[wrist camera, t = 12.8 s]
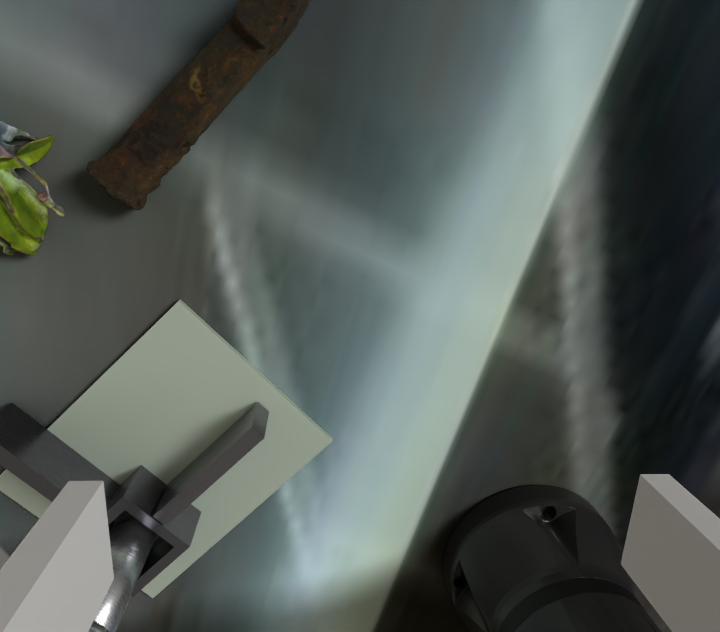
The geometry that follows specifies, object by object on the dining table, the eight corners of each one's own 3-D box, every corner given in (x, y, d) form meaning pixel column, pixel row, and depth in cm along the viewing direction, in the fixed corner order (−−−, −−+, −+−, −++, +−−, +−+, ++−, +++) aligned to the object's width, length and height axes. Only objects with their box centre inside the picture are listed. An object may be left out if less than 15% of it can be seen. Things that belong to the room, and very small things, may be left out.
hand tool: (146, 211, 36) (122, 218, 32) (100, 166, 35) (69, 166, 31) (349, 13, 34) (355, -10, 29) (307, -42, 33) (306, -74, 28)
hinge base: (201, 512, 42) (190, 546, 38) (149, 558, 43) (133, 596, 39) (34, 380, 38) (2, 404, 34) (-21, 434, 39) (-57, 464, 35)
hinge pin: (178, 511, 42) (121, 657, 30) (146, 540, 43) (77, 695, 30) (142, 482, 41) (66, 621, 29) (109, 512, 42) (21, 661, 29)
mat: (332, 438, 42) (332, 441, 41) (154, 593, 45) (152, 598, 44) (180, 299, 38) (178, 300, 37) (-6, 480, 40) (-10, 484, 40)
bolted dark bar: (271, 413, 40) (266, 440, 36) (181, 494, 41) (168, 528, 38) (257, 401, 40) (251, 427, 36) (168, 483, 41) (153, 516, 37)
